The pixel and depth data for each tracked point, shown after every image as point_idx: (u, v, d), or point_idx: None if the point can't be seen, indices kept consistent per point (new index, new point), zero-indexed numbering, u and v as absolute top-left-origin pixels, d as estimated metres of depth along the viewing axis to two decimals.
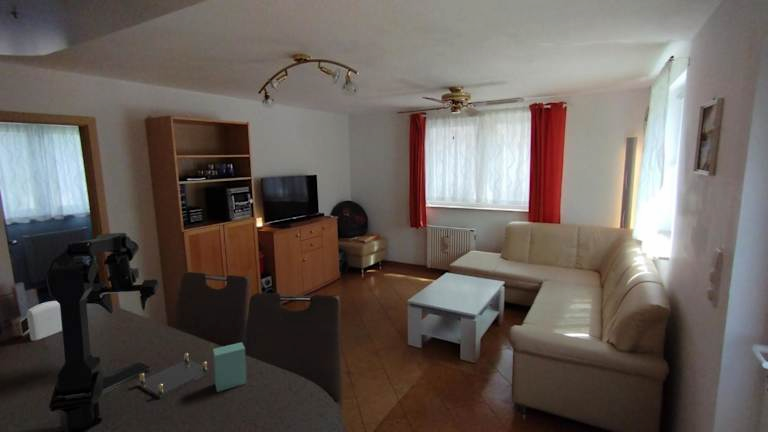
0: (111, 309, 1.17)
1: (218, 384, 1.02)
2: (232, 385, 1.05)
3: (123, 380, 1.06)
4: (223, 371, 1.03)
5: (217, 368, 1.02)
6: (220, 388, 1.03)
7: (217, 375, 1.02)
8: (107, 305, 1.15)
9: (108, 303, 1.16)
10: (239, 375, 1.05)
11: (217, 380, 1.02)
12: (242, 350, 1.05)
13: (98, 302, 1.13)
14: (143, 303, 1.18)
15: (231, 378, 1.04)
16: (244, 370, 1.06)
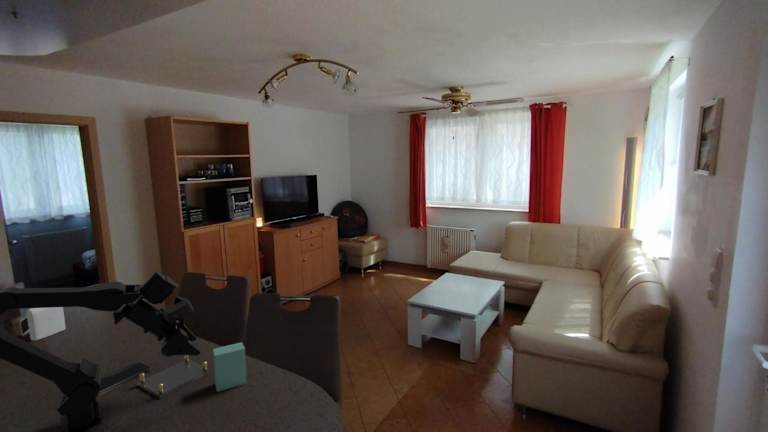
0: (191, 338, 1.04)
1: (218, 384, 1.02)
2: (232, 385, 1.05)
3: (123, 380, 1.06)
4: (223, 371, 1.03)
5: (217, 368, 1.02)
6: (220, 388, 1.03)
7: (217, 375, 1.02)
8: None
9: None
10: (239, 375, 1.05)
11: (217, 380, 1.02)
12: (242, 350, 1.05)
13: None
14: None
15: (231, 378, 1.04)
16: (244, 370, 1.06)
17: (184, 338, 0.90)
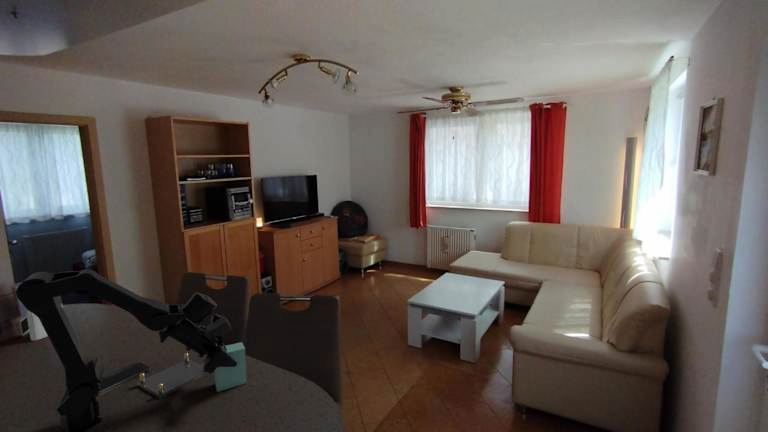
0: None
1: (218, 384, 1.02)
2: (232, 385, 1.05)
3: (123, 380, 1.06)
4: (223, 371, 1.03)
5: (217, 368, 1.02)
6: (220, 388, 1.03)
7: (217, 375, 1.02)
8: None
9: None
10: (239, 375, 1.05)
11: (217, 380, 1.02)
12: (242, 350, 1.05)
13: None
14: None
15: (231, 378, 1.04)
16: (244, 370, 1.06)
17: (225, 355, 0.96)
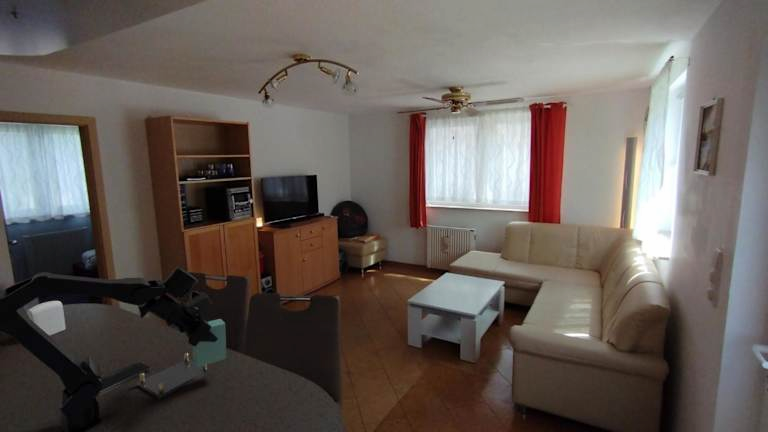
0: None
1: (198, 359, 1.03)
2: (212, 360, 1.06)
3: (123, 380, 1.06)
4: (204, 346, 1.04)
5: (198, 343, 1.02)
6: (200, 363, 1.03)
7: (197, 350, 1.02)
8: None
9: None
10: (220, 350, 1.07)
11: (197, 355, 1.03)
12: (222, 325, 1.06)
13: None
14: None
15: (211, 353, 1.05)
16: (224, 345, 1.07)
17: (209, 328, 0.97)
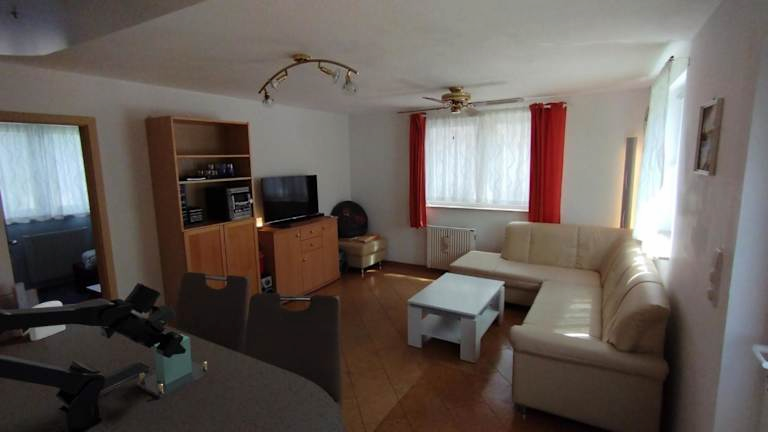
0: None
1: (166, 377, 1.04)
2: (179, 375, 1.07)
3: (123, 380, 1.06)
4: (171, 363, 1.05)
5: (165, 361, 1.03)
6: (168, 380, 1.04)
7: (165, 368, 1.03)
8: None
9: (159, 341, 1.07)
10: (185, 364, 1.09)
11: (165, 373, 1.04)
12: (187, 339, 1.09)
13: None
14: None
15: (178, 369, 1.07)
16: (189, 359, 1.10)
17: (182, 338, 1.00)
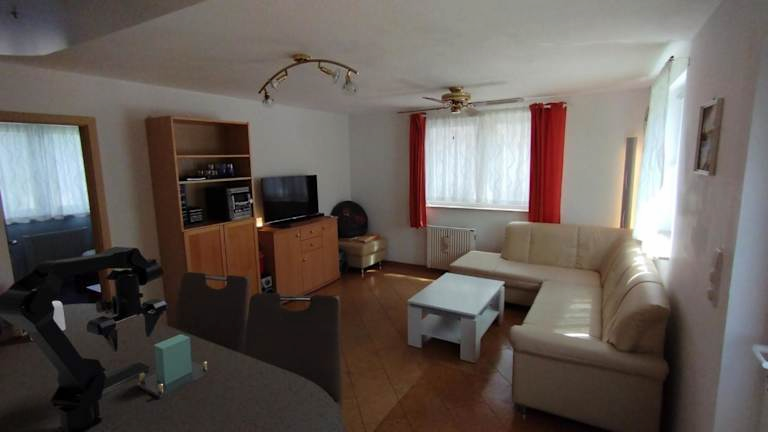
0: None
1: (166, 377, 1.04)
2: (179, 375, 1.07)
3: (123, 380, 1.06)
4: (171, 363, 1.05)
5: (165, 361, 1.03)
6: (168, 380, 1.04)
7: (165, 368, 1.03)
8: None
9: None
10: (185, 364, 1.09)
11: (165, 373, 1.04)
12: (187, 339, 1.09)
13: (112, 334, 0.95)
14: (154, 324, 1.07)
15: (178, 369, 1.07)
16: (189, 359, 1.10)
17: None
